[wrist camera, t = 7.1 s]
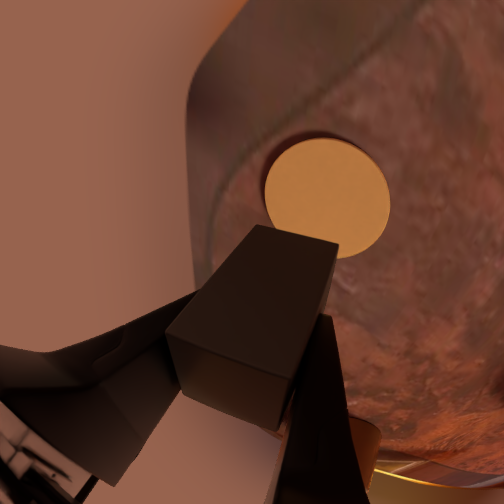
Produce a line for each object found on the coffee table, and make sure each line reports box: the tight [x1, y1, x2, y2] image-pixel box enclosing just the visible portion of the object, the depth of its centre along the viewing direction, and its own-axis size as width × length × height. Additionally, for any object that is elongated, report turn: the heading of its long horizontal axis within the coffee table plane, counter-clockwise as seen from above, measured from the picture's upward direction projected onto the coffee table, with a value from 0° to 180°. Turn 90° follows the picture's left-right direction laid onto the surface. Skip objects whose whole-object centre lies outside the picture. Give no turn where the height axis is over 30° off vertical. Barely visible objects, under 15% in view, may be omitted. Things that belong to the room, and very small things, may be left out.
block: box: [165, 225, 339, 432], centre depth 9 cm, size 3×3×6 cm
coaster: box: [265, 138, 390, 258], centre depth 16 cm, size 7×7×1 cm
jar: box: [349, 417, 382, 493], centre depth 25 cm, size 9×9×9 cm
